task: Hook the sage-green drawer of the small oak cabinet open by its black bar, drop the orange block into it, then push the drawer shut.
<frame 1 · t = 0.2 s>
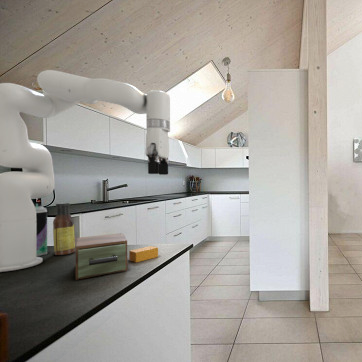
hand: (158, 174, 92), 31 cm above the counter, tool pointing down, fingers open, 9 cm apart
sauce bottle: (64, 254, 100), on the counter
orange block: (144, 258, 94), on the counter
spray can: (37, 255, 99), on the counter
cabinet: (101, 268, 84), on the counter
drawer: (102, 257, 80), point 5 cm above the counter, slide at 0.5 cm
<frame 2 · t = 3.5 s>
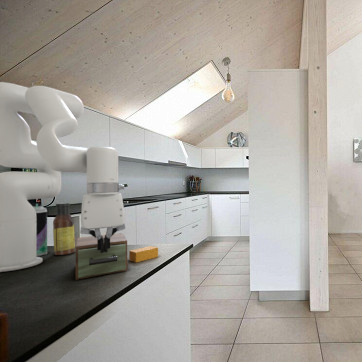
hand: (103, 251, 75), 8 cm above the counter, tool pointing down, fingers closed
drawer: (102, 257, 80), point 5 cm above the counter, slide at 0.5 cm, touching gripper
everything else where it was.
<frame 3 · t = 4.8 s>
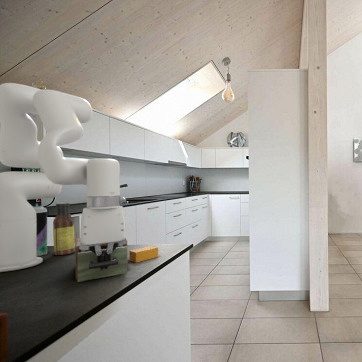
hand: (104, 267, 72), 4 cm above the counter, tool pointing down, fingers closed
drawer: (102, 260, 77), point 5 cm above the counter, slide at 4.4 cm, touching gripper
everything else where it was.
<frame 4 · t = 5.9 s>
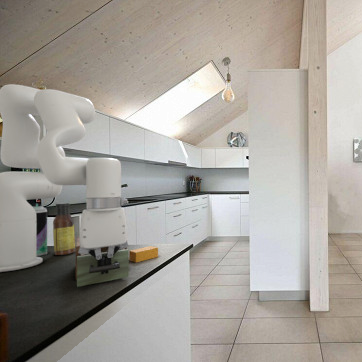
hand: (104, 272, 69), 4 cm above the counter, tool pointing down, fingers closed
drawer: (103, 263, 74), point 5 cm above the counter, slide at 8.4 cm, touching gripper
everything else where it was.
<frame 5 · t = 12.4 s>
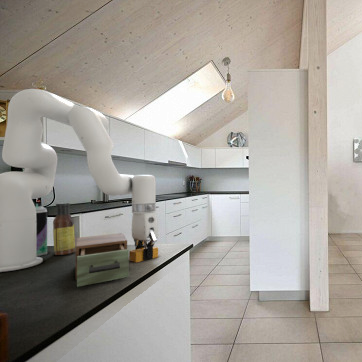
hand: (144, 257, 94), 0 cm above the counter, tool pointing down, fingers closed on orange block, 4 cm apart
orange block: (144, 258, 94), on the counter, touching gripper
drawer: (103, 263, 74), point 5 cm above the counter, slide at 8.4 cm
everything else where it was.
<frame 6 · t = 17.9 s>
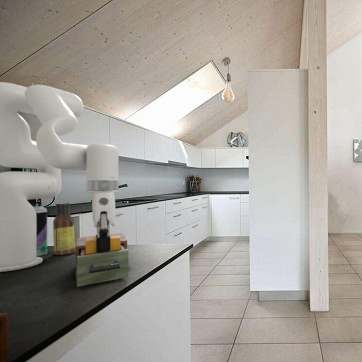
hand: (103, 248, 75), 9 cm above the counter, tool pointing down, fingers closed on orange block, 4 cm apart
orange block: (103, 250, 75), point 8 cm above the counter, touching gripper
everything else where it was.
when the fingers open (10 cm above the counter, at t = 27.9 s): orange block drops 8 cm, resting on drawer.
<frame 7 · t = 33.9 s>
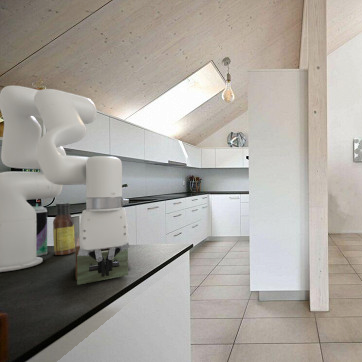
hand: (105, 274, 67), 4 cm above the counter, tool pointing down, fingers closed
orange block: (103, 270, 76), point 2 cm above the counter, touching drawer
drawer: (103, 262, 75), point 5 cm above the counter, slide at 6.7 cm, touching orange block, gripper
everything else where it was.
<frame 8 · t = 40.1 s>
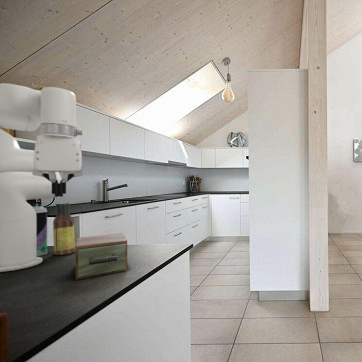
hand: (59, 196, 74), 24 cm above the counter, tool pointing down, fingers closed
orange block: (102, 264, 82), point 2 cm above the counter, touching drawer
drawer: (102, 256, 80), point 5 cm above the counter, slide at 0.0 cm, touching cabinet, orange block
everything else where it was.
at the end: drawer pulled out 8.4 cm at the most during the clip and back in by the end; orange block inside the target area in the cabinet (2.5 cm from its centre), point 2.0 cm above the cabinet's base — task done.
